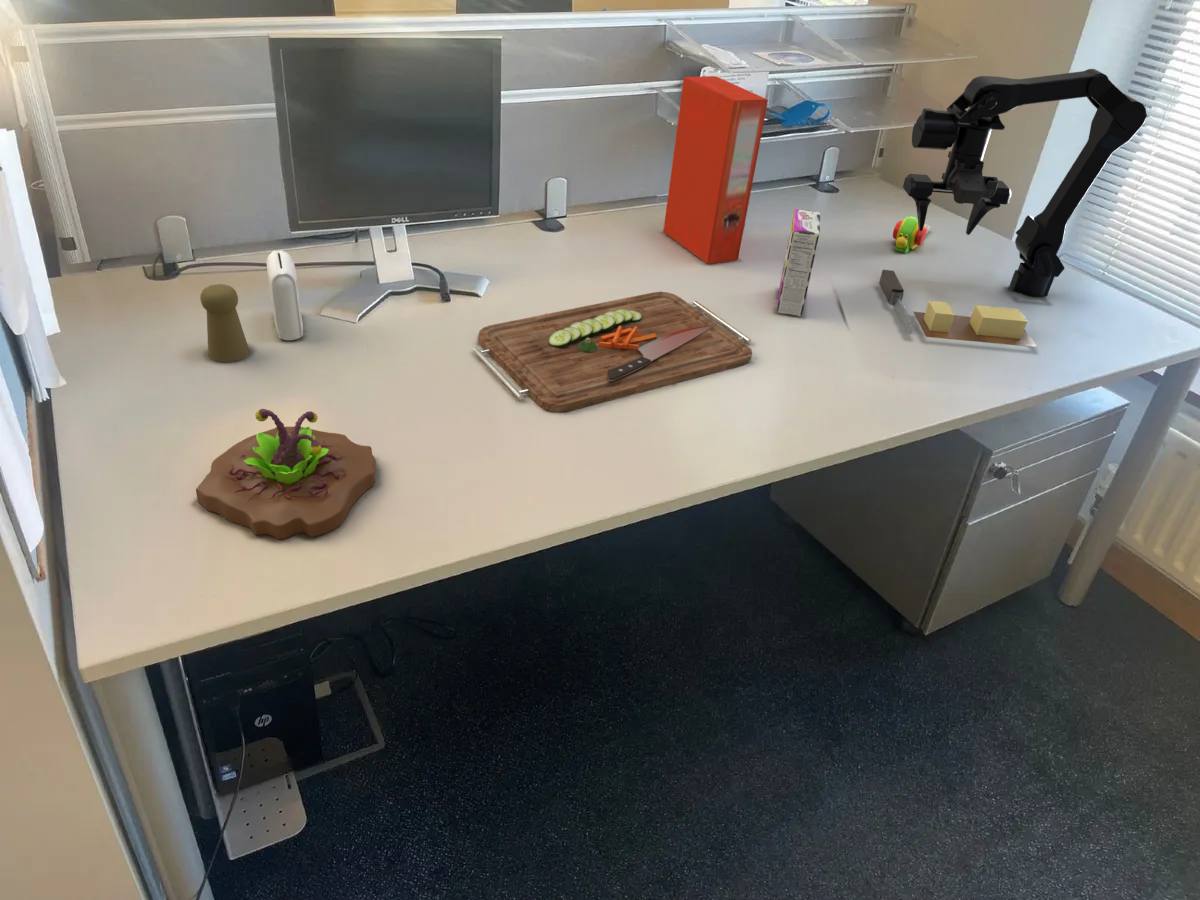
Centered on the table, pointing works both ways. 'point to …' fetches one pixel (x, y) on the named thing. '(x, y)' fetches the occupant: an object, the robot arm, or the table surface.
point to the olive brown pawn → (223, 324)
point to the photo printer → (284, 295)
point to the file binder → (713, 167)
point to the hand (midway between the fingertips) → (943, 232)
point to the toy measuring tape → (909, 234)
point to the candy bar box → (798, 262)
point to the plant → (288, 479)
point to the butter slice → (938, 316)
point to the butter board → (970, 333)
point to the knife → (895, 296)
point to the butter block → (998, 322)
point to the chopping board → (611, 349)
